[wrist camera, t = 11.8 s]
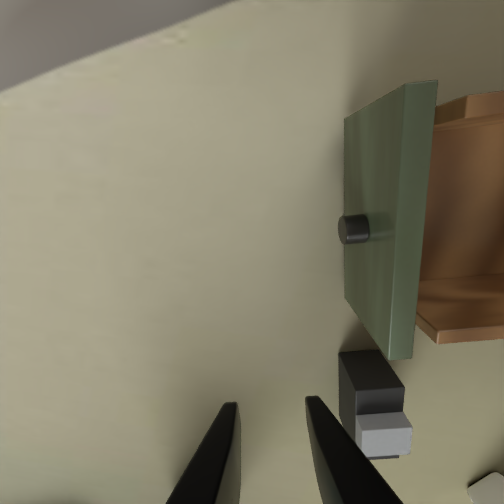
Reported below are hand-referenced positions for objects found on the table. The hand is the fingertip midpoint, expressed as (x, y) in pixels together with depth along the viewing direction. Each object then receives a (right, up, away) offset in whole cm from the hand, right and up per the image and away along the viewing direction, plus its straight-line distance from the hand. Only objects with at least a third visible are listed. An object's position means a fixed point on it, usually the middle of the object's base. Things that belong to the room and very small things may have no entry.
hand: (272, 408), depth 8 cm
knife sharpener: (+9, -7, +15) cm, 18 cm away
